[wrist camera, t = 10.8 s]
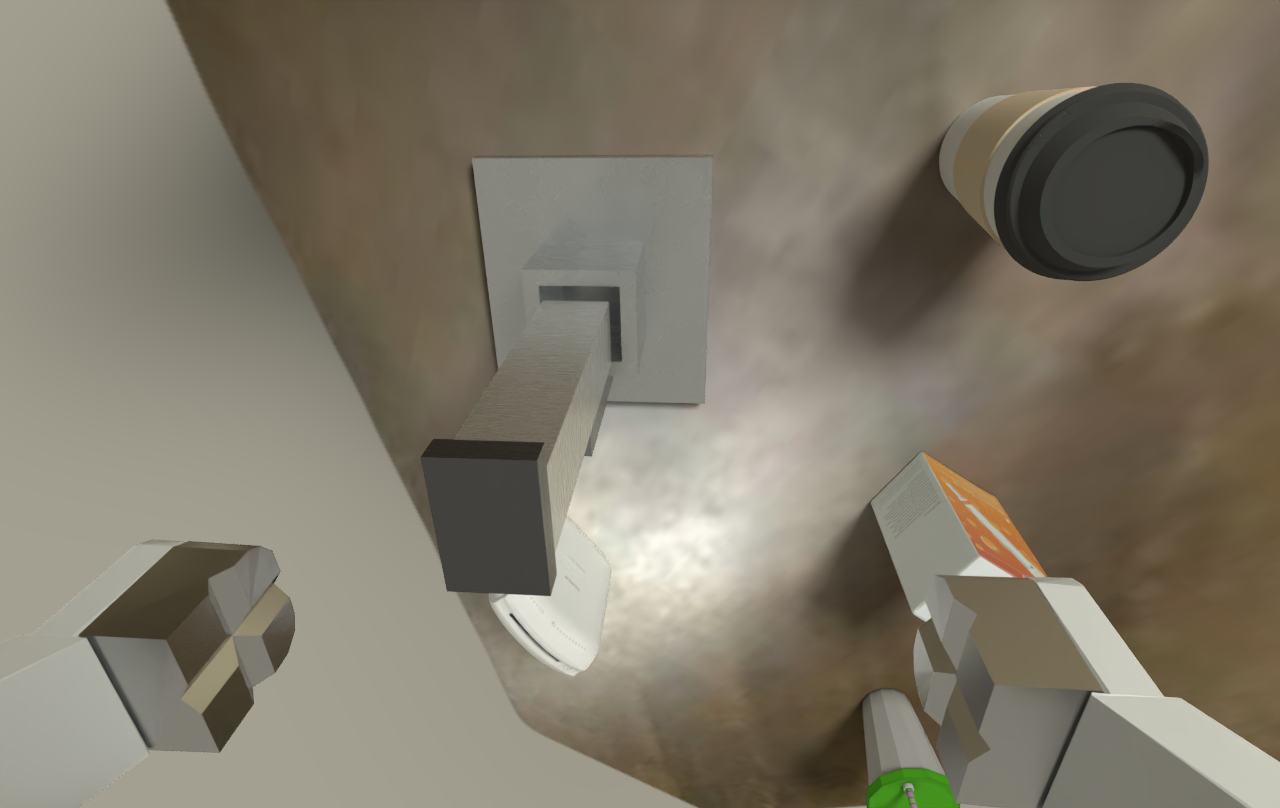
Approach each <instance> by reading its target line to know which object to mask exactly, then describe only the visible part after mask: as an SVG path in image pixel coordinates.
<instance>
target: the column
mask: <svg viewBox="0 0 1280 808" xmlns="http://www.w3.org/2000/svg"><path fill="white" fill-rule="evenodd" d="M610 366H611V339H610V313H609V302H607V301H542V303H541V304H540V306H539V307H538V309H537V310H536V312H535V313H534V315H533V317H532V318H531V320H530V321H529V323H528V324H527V326H526V327H525V329H524V330H523V332H522V334H521V335H520V337H519V338H518V340H517V341H516V343H515V344H514V346H513V347H512V349H511V351H510V352H509V354H508V355H507V357H506V358H505V360H504V361H503V363H502V364H501V366H500V367H499V369H498V371H497V372H496V374H495V375H494V377H493V378H492V380H491V381H490V383H489V384H488V386H487V388H486V389H485V391H484V392H483V394H482V395H481V397H480V398H479V400H478V401H477V403H476V405H475V406H474V408H473V409H472V411H471V412H470V414H469V415H468V417H467V418H466V420H465V422H464V423H463V425H462V426H461V428H460V429H459V431H458V432H457V434H456V435H455V437H454V439H453V440H449V439H433V440H432V442H431V443H430V445H429V446H428V447H427V449H426V450H425V452H424V453H423V455H422V456H421V461H422V466H423V471H424V476H425V481H426V486H427V491H428V497H429V502H430V507H431V512H432V517H433V522H434V527H435V532H436V537H437V542H438V547H439V553H440V558H441V563H442V568H443V573H444V578H445V583H446V588H447V591H454V592H475V593H495V594H516V595H537V596H551V594H552V590H553V586H554V583H555V579H556V576H557V570H556V559H555V553H556V549H557V546H558V542H559V539H560V536H561V532H562V529H563V526H564V522H565V519H566V515H567V512H568V509H569V505H570V502H571V498H572V495H573V492H574V488H575V485H576V481H577V478H578V475H579V471H580V468H581V465H582V461H583V458H584V454H585V451H586V448H587V444H588V441H589V437H590V434H591V431H592V427H593V424H594V420H595V417H596V414H597V410H598V407H599V404H600V400H601V397H602V393H603V390H604V387H605V383H606V380H607V376H608V373H609V370H610Z"/></svg>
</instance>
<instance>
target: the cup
mask: <svg viewBox="0 0 1280 808" xmlns="http://www.w3.org/2000/svg"><path fill="white" fill-rule="evenodd" d="M862 710H863V722H864V734H865V745H866V757H867V769H868V780H869V787H868V788H867V793H866V805H867V808H960V804H959V803H956V802H955V799H954V796H953V793H952V791H951V788H950V785H949V782H948V779H947V776H946V775H945V773H944V771H943V769H942V767H941V765H940V763H939V761H938V759H937V757H936V754H935V752H934V750H933V748H932V746H931V744H930V742H929V740H928V738H927V736H926V734H925V732H924V730H923V728H922V726H921V724H920V722H919V720H918V718H917V716H916V714H915V711H914V709H913V707H912V705H911V703H910V701H909V699H908V698H907V697H906V696H905V694H904V693H902V692H900V691H897V690H894V689H879V690H876V691H874V692H871V693H869V694H868V695H867V696H866V697H865V698H864V700H863V705H862Z"/></svg>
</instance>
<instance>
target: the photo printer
mask: <svg viewBox="0 0 1280 808" xmlns="http://www.w3.org/2000/svg"><path fill="white" fill-rule="evenodd" d="M555 559H556V570H557V576H556V579H555V583H554V586H553V590H552V594H551V596H537V595H516V594H495V593H489V603H490V605H491V607H492V609H493V610H494V612H495V614H496V615H497V617H498V619H499V620H500V621H501V623H502V624H503V625H504V627H505V628H506V629H507V630H508V632H509V633H510V634H511V635H512V636H513V637H514V638H515V640H516V641H517V642H519V643H520V645H522V647H524V648H525V649H526V650H527V651H528V652H529V653H530V654H532V655H533V656H534V657H535V658H537V659H538V660H539V661H541V662H542V663H544V664H545V665H547V666H548V667H550V668H552V669H554V670H556V671H558V672H560V673H563V674H566V675H569V676H575V675H576V674H577V673H579V672H581V671H585V670H586V669H587V668H588V666H589V665H590V664H591V663H592V661H593V660H594V658H595V656H596V654H597V652H598V649H599V645H600V639H601V633H602V628H603V622H604V615H605V609H606V602H607V597H608V591H609V585H610V578H611V566H610V564H609V563H608V561H607V560H606V558H605V557H604V556H603V555H602V554H601V553H600V551H599V550H598V549H597V548H596V547H595V546H594V545H593V544H592V543H591V542H590V541H589V539H588V538H587V537H586V536H585V535H584V534H583V533H582V532H581V531H580V530H579V529H578V528H577V527H576V526H575V525H574V524H573V523H572V522H571V521H570V520H569V519H568V518H567V517H566V519H565V522H564V526H563V529H562V532H561V536H560V539H559V542H558V546H557V549H556V553H555Z"/></svg>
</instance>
